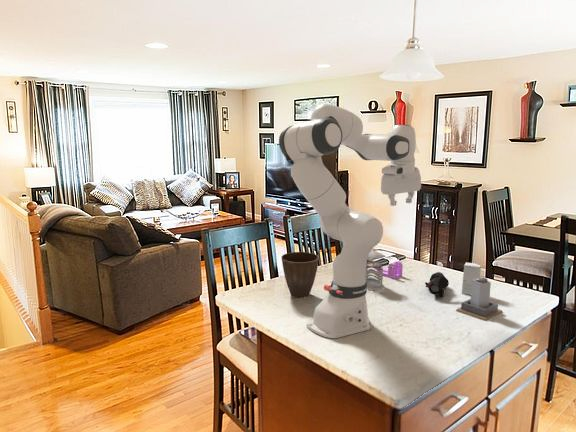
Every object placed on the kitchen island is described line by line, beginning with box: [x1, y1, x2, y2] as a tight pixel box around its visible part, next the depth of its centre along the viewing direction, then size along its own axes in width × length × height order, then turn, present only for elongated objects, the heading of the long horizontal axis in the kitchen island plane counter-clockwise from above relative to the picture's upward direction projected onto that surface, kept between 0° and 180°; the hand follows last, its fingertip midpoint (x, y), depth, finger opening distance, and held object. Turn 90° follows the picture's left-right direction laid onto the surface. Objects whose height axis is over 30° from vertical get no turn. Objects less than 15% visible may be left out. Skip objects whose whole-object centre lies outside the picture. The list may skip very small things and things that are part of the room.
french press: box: [366, 250, 386, 291], centre depth 185 cm, size 10×12×25 cm
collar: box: [455, 298, 503, 321], centre depth 160 cm, size 12×11×3 cm
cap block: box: [470, 276, 492, 309], centre depth 159 cm, size 4×4×12 cm
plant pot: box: [281, 251, 320, 299], centre depth 177 cm, size 15×15×16 cm
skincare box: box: [461, 262, 482, 296], centre depth 178 cm, size 6×4×12 cm
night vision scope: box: [424, 271, 450, 299], centre depth 180 cm, size 8×18×10 cm
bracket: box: [373, 260, 404, 280], centre depth 203 cm, size 13×6×7 cm, turn 40°
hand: (401, 204), depth 170 cm, fingers open, 8 cm apart
